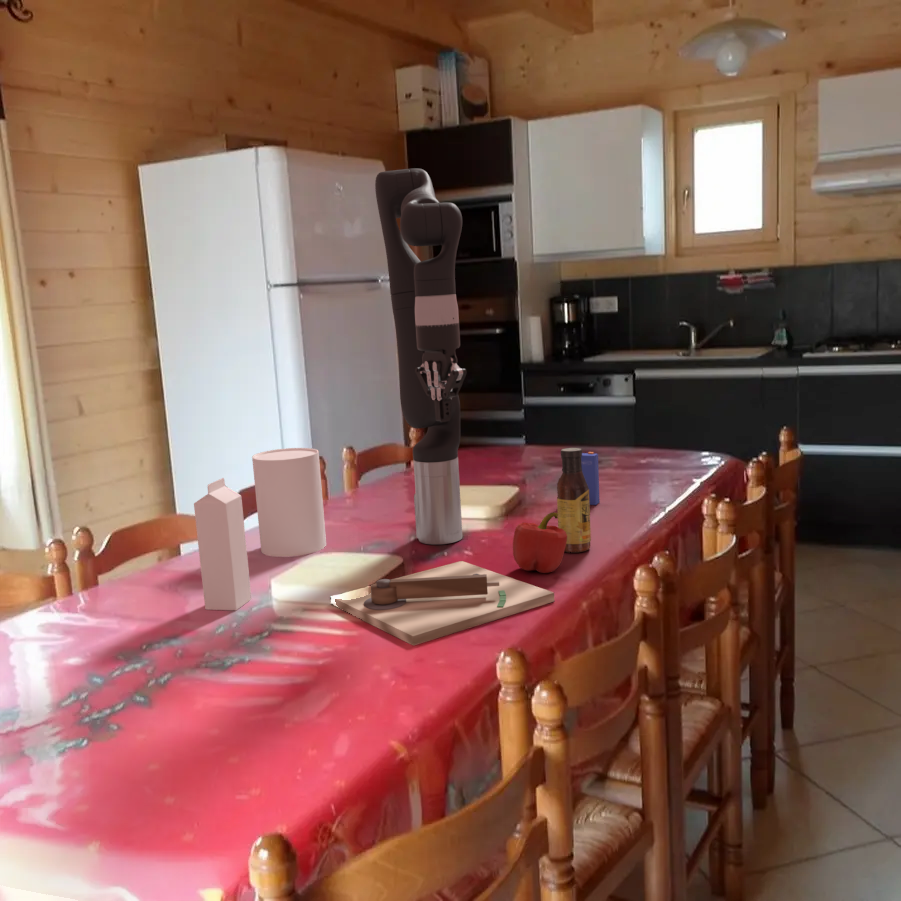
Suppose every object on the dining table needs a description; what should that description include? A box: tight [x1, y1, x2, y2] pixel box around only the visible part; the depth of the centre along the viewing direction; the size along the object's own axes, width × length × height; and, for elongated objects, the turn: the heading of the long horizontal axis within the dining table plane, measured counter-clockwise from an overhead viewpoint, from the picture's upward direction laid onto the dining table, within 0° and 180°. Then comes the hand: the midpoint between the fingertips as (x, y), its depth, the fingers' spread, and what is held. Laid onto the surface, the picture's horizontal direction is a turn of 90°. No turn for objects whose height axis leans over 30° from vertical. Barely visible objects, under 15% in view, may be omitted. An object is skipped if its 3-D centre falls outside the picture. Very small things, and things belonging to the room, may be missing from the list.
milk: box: [193, 477, 252, 611], centre depth 168 cm, size 6×6×22 cm
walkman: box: [581, 451, 601, 506], centre depth 226 cm, size 8×3×12 cm, turn 63°
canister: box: [251, 447, 327, 558], centre depth 202 cm, size 14×14×20 cm
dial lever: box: [370, 574, 499, 604], centre depth 161 cm, size 4×21×3 cm, turn 90°
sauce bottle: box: [556, 447, 592, 554], centre depth 189 cm, size 6×6×20 cm
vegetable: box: [512, 511, 567, 574], centre depth 178 cm, size 11×10×10 cm
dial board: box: [335, 560, 555, 646], centre depth 164 cm, size 26×28×2 cm
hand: (443, 420), depth 171 cm, fingers closed
